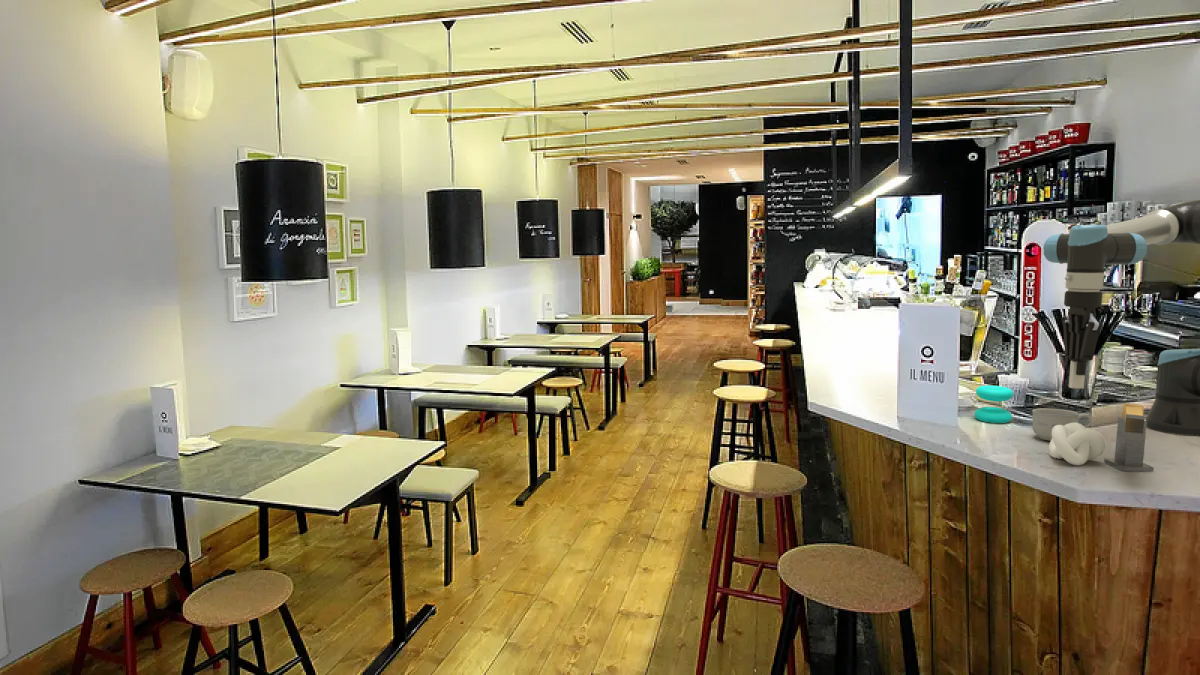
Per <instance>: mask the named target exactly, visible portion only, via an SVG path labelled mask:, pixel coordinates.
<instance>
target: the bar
mask: <svg viewBox="0 0 1200 675" xmlns="http://www.w3.org/2000/svg"><path fill="white" fill-rule="evenodd" d="M1144 408H1145V406H1144V405H1143V404H1138V403H1123V404H1122V412H1121V417H1123V418H1125V432H1131V433H1140V434H1143V429H1144V421H1145V416H1144V410H1145V409H1144Z"/></svg>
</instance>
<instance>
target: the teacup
mask: <svg viewBox="0 0 1200 675" xmlns="http://www.w3.org/2000/svg"><path fill="white" fill-rule="evenodd" d="M1082 418H1086V422H1085V424H1084V425H1083V424H1082V425H1083V426H1084V427H1085V428H1086V429H1089V428H1090V426H1091V425H1092V423H1093V420H1092V417H1091V416H1090V414H1087V413H1085V412H1084V413H1083V412H1081V413H1078V412H1076V411H1074V410H1068V409H1061V408H1033V409H1032V431H1033V433H1034V434H1035V435H1036V436H1038V438H1039V439H1041V440H1043V441H1048V442H1049V441H1051V439H1052V429H1053V428H1054V426H1056V425H1063V426H1064V425H1066V424H1069V423H1074V422H1076V423H1079V422H1080V420H1081V419H1082Z"/></svg>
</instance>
